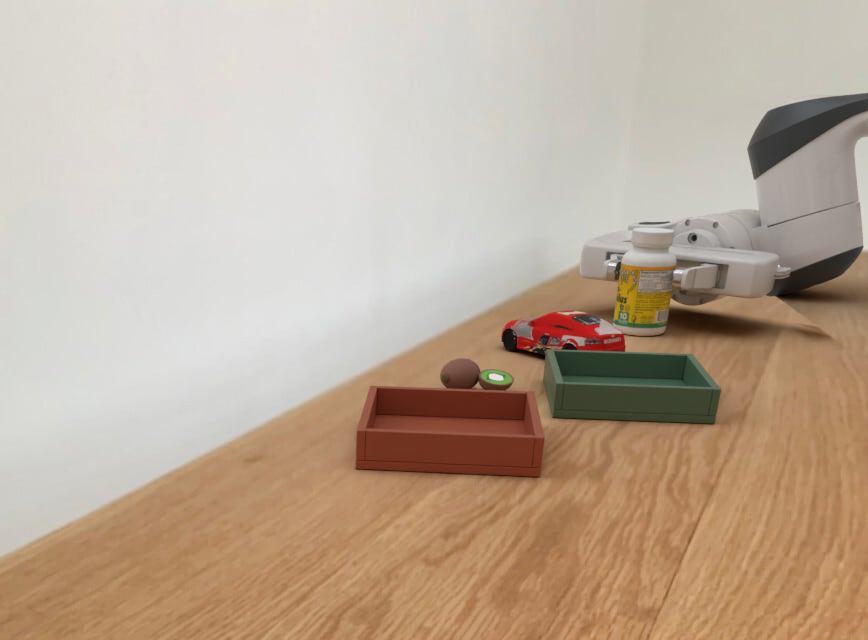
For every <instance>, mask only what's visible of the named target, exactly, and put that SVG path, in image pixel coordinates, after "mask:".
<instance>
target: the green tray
mask: <svg viewBox="0 0 868 640" xmlns="http://www.w3.org/2000/svg"><path fill="white" fill-rule="evenodd" d="M542 381H543V385H544V389H545V394H546V397H547V401H548V404H549V405H548V406H549V408H550V412H551V417H552V418H555V419H557V418H558V419H582V420H583V419H584V420H607V421H630V422H631V421H632V422H633V421H635V422H660V423H684V424H687V423H688V424H708V425H711V424H713V425H714V424H715V423H716V418H717V415H718V408H719V402H720V399H721V394H722V393H721V392H722V389H721V387H720V386H719V384H718V383H717V382H716V381H715V380H714V378H712V376H711V375H710V374H709V372H708V371H707V370H706V368H704V366H703V365H702V364H701V362H700V361H699V360H698V359H697V358H696V356H695V355H694V354H693V353H672V352H668V353H667V352H645V351H644V352H643V351H642V352H641V351H625V352H617V351H586V350H556V349H554V350H553V349H547V350H546V355H545V358H544V367H543V377H542Z"/></svg>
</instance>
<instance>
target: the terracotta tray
mask: <svg viewBox="0 0 868 640" xmlns="http://www.w3.org/2000/svg"><path fill="white" fill-rule="evenodd" d="M541 420H542V419H541V416H540V411H539V407H538V403H537V397H536V393H535V391H530V390H529V391H525V390H505V391H503V390H484V389H476V388H475V389H473V388H471V389H449V388H446V387H444V388H443V387H416V386H393V385H390V386H389V385H369V388H368V392H367V396H366V399H365V401H364V405H363V408H362V412H361V415H360V418H359V421H358V425H357V428H356V438H355V441H356V442H355V469H356V470H376V471H395V472H396V471H398V472H400V471H401V472H420V473H421V472H422V473H440V474H441V473H442V474H464V475H465V474H466V475H486V476H487V475H489V476H508V477H509V476H511V477H512V476H513V477H533V478H534V477H535V478H536V477H537V478H540V477H541V474H542V473H541V472H542V465H543V455H544V447H545V434H544V430H543V425H542V421H541Z"/></svg>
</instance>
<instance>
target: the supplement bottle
mask: <svg viewBox="0 0 868 640" xmlns="http://www.w3.org/2000/svg"><path fill="white" fill-rule="evenodd" d="M673 237H674V231H673V230H670V229H664V228H634V229H633V231H632V237H631V244H632V245H633V250H630V251H628V252H627V253H625V254H624V256H623V258H622V261H621V268H620V275H619V282H617V291H616V299H615V304H614V312H613V319H612V326H613V327H615V328H617V329H619V330H620V331H622V332H623V334H624V335H628V336H639V337H652V336H653V337H654V336H659V335H662V334H663V333H665V331H666V330H667V325H668V318H669V312H670V305H671V300H672V298H671V293H672V286H671V284H672V280H673V279H674V278H673V272H674V270H675V269H676V257H675V256H674V254H673V253H671V252H669V247H671V246H672V244H673Z"/></svg>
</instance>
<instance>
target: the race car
mask: <svg viewBox="0 0 868 640" xmlns="http://www.w3.org/2000/svg"><path fill="white" fill-rule="evenodd" d="M501 343H502V344H503V346H504V347H503V348H505V350H507V351H510V352H513V351H518V350H522V351H527V352H531V353H536V354H538V355H543V356H546V350H547V349H553V350H554V349H556V350H586V351H617V352H626V348H627V346H626V338H625V334H623V332H622V331H620V330H619V329H617V328H615V327H613V324H611V323H610V322H608V321H607V320H605V319H603V318H601V317H599V316H597V315H594V314H591V313H589V312H585V311H580V310H570V309H569V310H560V311H553V312H548V313H545V314H543V315H541V316H539V317H523V318H516V319H513V320H510V321H508V322H507V323H506V324H505V325H504V326H503V328H502V330H501Z"/></svg>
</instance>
